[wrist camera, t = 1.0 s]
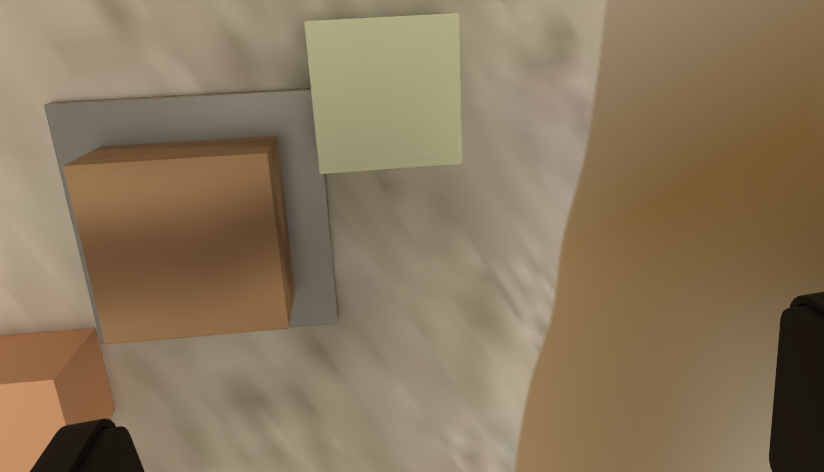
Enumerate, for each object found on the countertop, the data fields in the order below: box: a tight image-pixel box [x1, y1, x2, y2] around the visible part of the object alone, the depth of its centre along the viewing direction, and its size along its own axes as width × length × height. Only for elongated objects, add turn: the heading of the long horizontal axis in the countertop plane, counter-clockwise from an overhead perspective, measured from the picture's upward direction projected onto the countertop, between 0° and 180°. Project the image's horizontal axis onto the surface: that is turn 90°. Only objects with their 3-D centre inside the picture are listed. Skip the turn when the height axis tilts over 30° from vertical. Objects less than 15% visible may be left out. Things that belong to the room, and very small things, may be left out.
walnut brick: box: [63, 136, 295, 344], centre depth 28 cm, size 8×8×4 cm
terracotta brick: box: [0, 328, 115, 472], centre depth 30 cm, size 5×5×5 cm
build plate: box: [44, 88, 338, 344], centre depth 30 cm, size 12×12×1 cm
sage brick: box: [304, 13, 463, 174], centre depth 27 cm, size 6×6×5 cm
